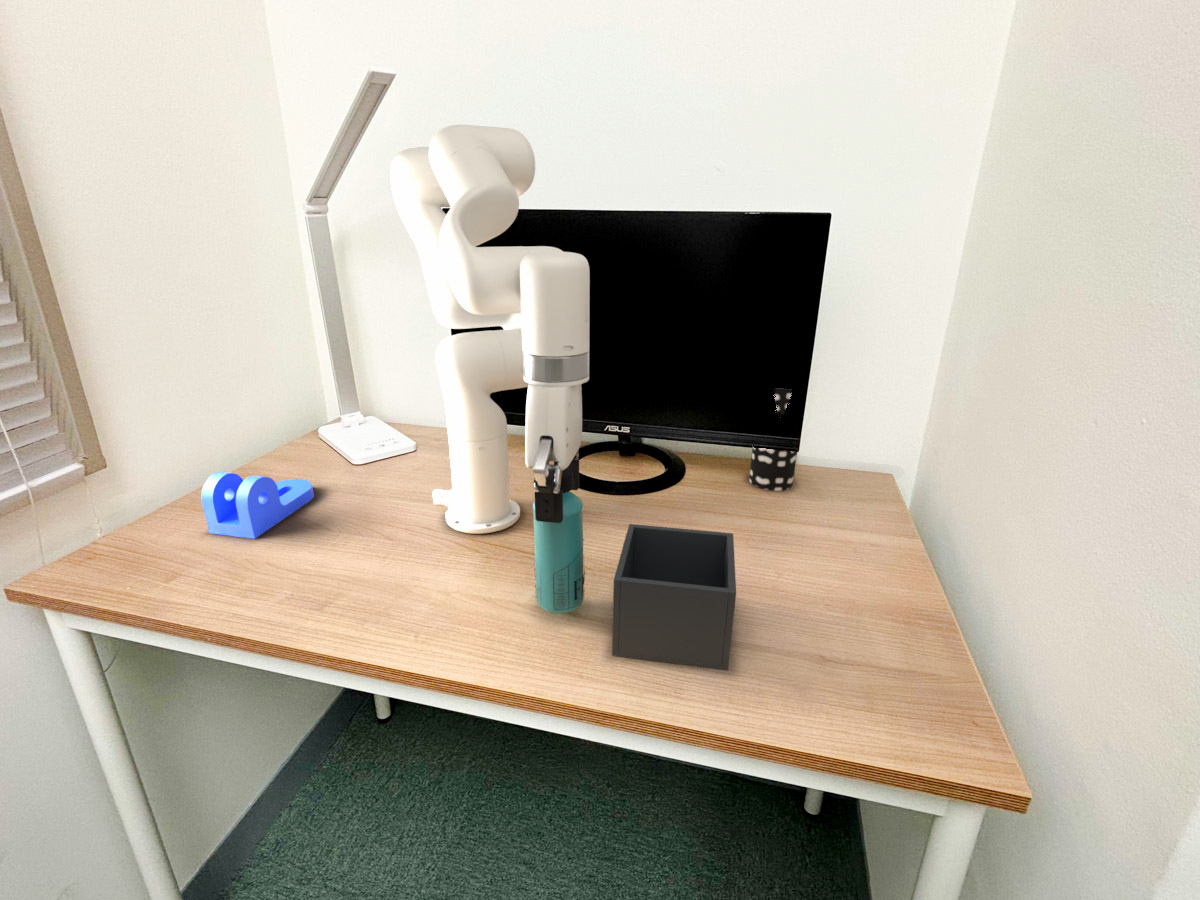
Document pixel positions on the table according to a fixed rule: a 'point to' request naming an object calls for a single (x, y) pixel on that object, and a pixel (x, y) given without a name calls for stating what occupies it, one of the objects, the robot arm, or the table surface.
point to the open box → (675, 596)
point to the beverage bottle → (560, 554)
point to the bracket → (250, 503)
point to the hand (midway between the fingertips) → (558, 503)
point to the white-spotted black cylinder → (774, 457)
